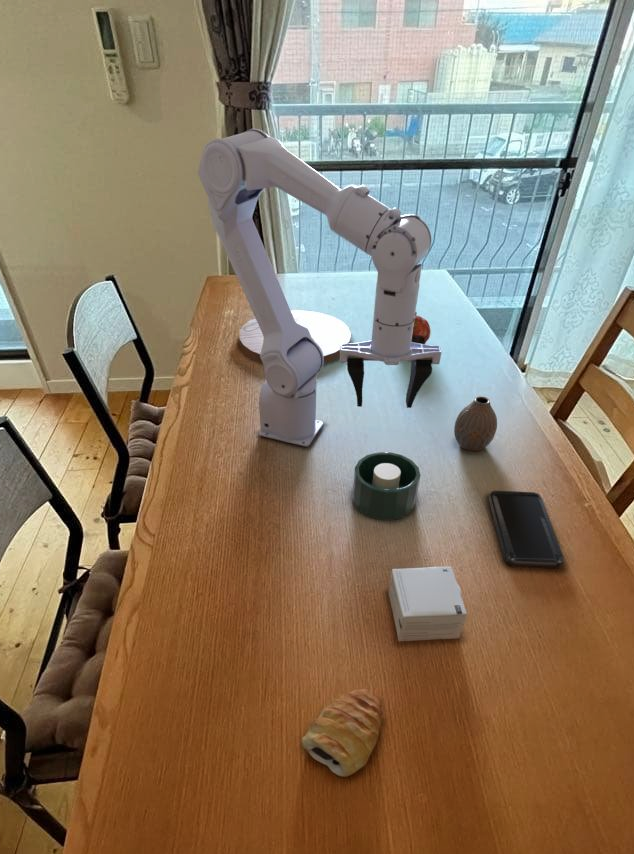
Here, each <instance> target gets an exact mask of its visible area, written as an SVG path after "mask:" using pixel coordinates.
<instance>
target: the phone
mask: <svg viewBox="0 0 634 854" xmlns="http://www.w3.org/2000/svg"><path fill="white" fill-rule="evenodd" d="M488 503H489V507H490V511H491V515H492V518H493V522H494V526H495V530H496V533H497V538H498V541H499V546H500V549H501V553H502V557H503V560H504V561H503V562H505V564H507V565H508V566H511V567H518V568H519V567H520V568H538V569H539V568H540V569H559V568H560V567H561V566H562V564H563V562H564V559H565V558H564V555H563V552H562V549H561V547H560V544H559V542H558V539H557V536H556V533H555V530H554V528H553V527H554V526H553V524H552V522H551V520H550V516H549V514H548V510H547V509H546V506H545V503H544V500H543V497H542V496H541V495H540V493H537V492H534V491H515V490H492V491H491V492H490V494H489V497H488Z"/></svg>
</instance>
